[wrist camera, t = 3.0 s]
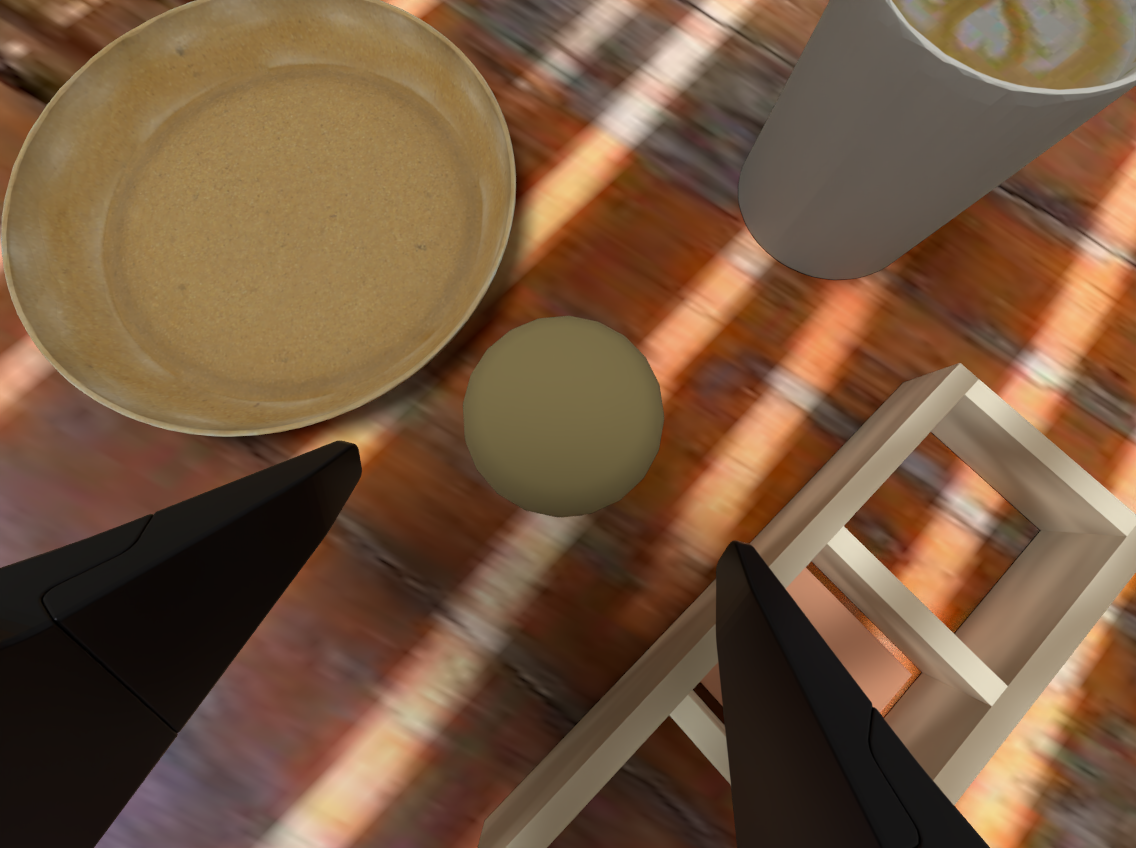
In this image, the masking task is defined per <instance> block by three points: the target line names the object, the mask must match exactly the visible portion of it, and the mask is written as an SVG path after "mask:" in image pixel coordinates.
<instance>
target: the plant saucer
mask: <svg viewBox="0 0 1136 848" xmlns="http://www.w3.org/2000/svg"><path fill="white" fill-rule="evenodd" d="M515 200H516V170H515V160H514V153H513V148H512V143H511V139H510V135H509V131H508V127H507V124H506V121H505V119H504V116H503V114H502V111H501V109H500V106H499V104H498V102H497V100H496V98H495V96H494V94H493V92H492V91H491V89H490V87H489V86H488V84H487V82H486V81H485V79H484V78H483V76H482V75H481V74H480V73H479V71H478V70H477V69H476V67H475V66H474V65H473V64H472V62H471V61H470V60H469V59H468V58H467V57H466V56H465V55H464V54H463V52H462V51H460V50H459V49H458V48H457V47H456V46H455V45H454V44H453V43H452V42H451V41H450V40H449V39H447V38H446V37H445V36H444V35H442V34H441V33H440V32H438V31H437V30H436V29H434V28H433V27H431V26H430V25H429V24H427V23H425V22H424V21H422V20H421V19H419V18H417V17H415V16H414V15H412V14H410V13H408V12H406V11H404V10H402V9H400V8H398V7H395V6H393V5H390V4H388V3H385V2H383V1H380V0H197V1H193V2H190V3H187V4H185V5H182V6H179V7H177V8H174V9H171V10H169V11H167V12H165V13H163V14H161V15H159V16H156V17H154V18H152V19H150V20H148V21H146V22H145V23H143V24H142V25H140V26H138V27H136V28H134V29H132V30H131V31H129V32H127V33H126V34H124V35H122V36H121V37H119V38H118V39H116V40H115V41H113V42H112V43H110V44H109V45H107V46H106V47H105V48H103V49H102V50H101V51H100V52H98V53H97V54H96V55H95V56H93V57H92V58H91V59H90V60H89V61H88V62H87V63H86V64H85V65H84V66H83V67H82V68H81V69H80V70H78V71H77V72H76V73H75V74H74V75H73V76H72V77H71V78H70V79H69V80H68V81H67V82H66V83H65V84H64V85H63V86H62V87H61V88H60V89H59V91H58V92H57V93H56V94H55V96H54V97H53V98H52V100H51V101H50V102H49V103H48V105H47V106H46V108H45V109H44V111H43V112H42V114H41V115H40V117H39V118H38V120H37V121H36V123H35V124H34V126H33V127H32V129H31V130H30V132H29V134H28V136H27V138H26V140H25V142H24V144H23V146H22V149H21V151H20V153H19V155H18V157H17V160H16V162H15V164H14V166H13V169H12V173H11V177H10V181H9V184H8V188H7V192H6V196H5V200H4V208H3V214H2V234H1V243H2V257H3V265H4V272H5V277H6V281H7V285H8V288H9V292H10V295H11V299H12V301H13V304H14V306H15V309H16V312H17V314H18V316H19V318H20V319H21V321H22V323H23V325H24V327H25V329H26V331H27V332H28V334H29V336H30V337H31V339H32V340H33V342H34V343H35V345H36V346H37V348H38V349H39V350H40V352H41V353H42V354H43V355H44V357H45V358H46V359H47V360H48V361H49V362H50V363H51V364H52V365H53V366H54V367H55V368H56V369H57V370H58V372H59V373H60V374H61V375H62V376H63V377H64V378H66V379H67V380H68V381H69V382H70V383H72V384H73V385H74V386H75V387H77V388H78V389H80V390H81V391H82V392H84V393H85V394H87V395H88V396H90V397H91V398H93V399H94V400H96V401H97V402H99V403H101V404H103V405H104V406H106V407H108V408H110V409H112V410H114V411H116V412H118V413H120V414H122V415H125V416H127V417H130V418H132V419H135V420H137V421H140V422H143V423H146V424H149V425H152V426H156V427H159V428H163V429H167V430H172V431H177V432H183V433H188V434H197V435H206V436H224V437H227V436H251V435H262V434H269V433H276V432H282V431H287V430H292V429H296V428H301V427H305V426H308V425H312V424H315V423H318V422H322V421H325V420H328V419H331V418H334V417H337V416H340V415H342V414H345V413H347V412H350V411H352V410H355V409H357V408H359V407H361V406H363V405H365V404H368V403H370V402H372V401H374V400H375V399H377V398H379V397H381V396H383V395H384V394H386V393H388V392H390V391H391V390H393V389H394V388H396V387H397V386H399V385H401V384H402V383H404V382H405V381H406V380H408V379H409V378H411V377H412V376H413V375H415V374H416V373H417V372H419V371H420V370H421V369H422V368H424V367H425V366H426V365H427V364H428V363H430V362H431V361H432V360H433V359H434V358H435V357H436V356H437V355H438V354H439V353H440V352H441V351H442V350H443V349H444V348H445V347H446V346H447V345H448V344H449V343H450V342H451V341H452V340H453V339H454V338H455V337H456V336H457V334H458V333H459V332H460V331H461V329H462V328H463V327H464V326H465V324H466V323H467V322H468V320H469V319H470V318H471V316H472V315H473V313H474V312H475V310H476V309H477V307H478V306H479V304H480V303H481V301H482V300H483V298H484V296H485V294H486V292H487V290H488V289H489V287H490V285H491V283H492V281H493V279H494V277H495V274H496V272H497V270H498V267H499V265H500V262H501V260H502V257H503V254H504V252H505V249H506V246H507V243H508V239H509V235H510V231H511V227H512V222H513V216H514V209H515Z"/></svg>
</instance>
